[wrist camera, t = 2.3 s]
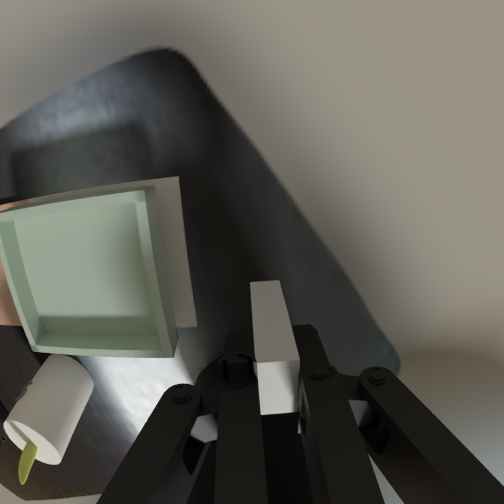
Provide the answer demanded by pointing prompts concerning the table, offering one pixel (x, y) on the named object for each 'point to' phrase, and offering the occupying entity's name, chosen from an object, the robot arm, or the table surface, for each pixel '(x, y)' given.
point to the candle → (48, 411)
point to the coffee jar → (275, 456)
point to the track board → (173, 242)
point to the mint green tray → (90, 274)
